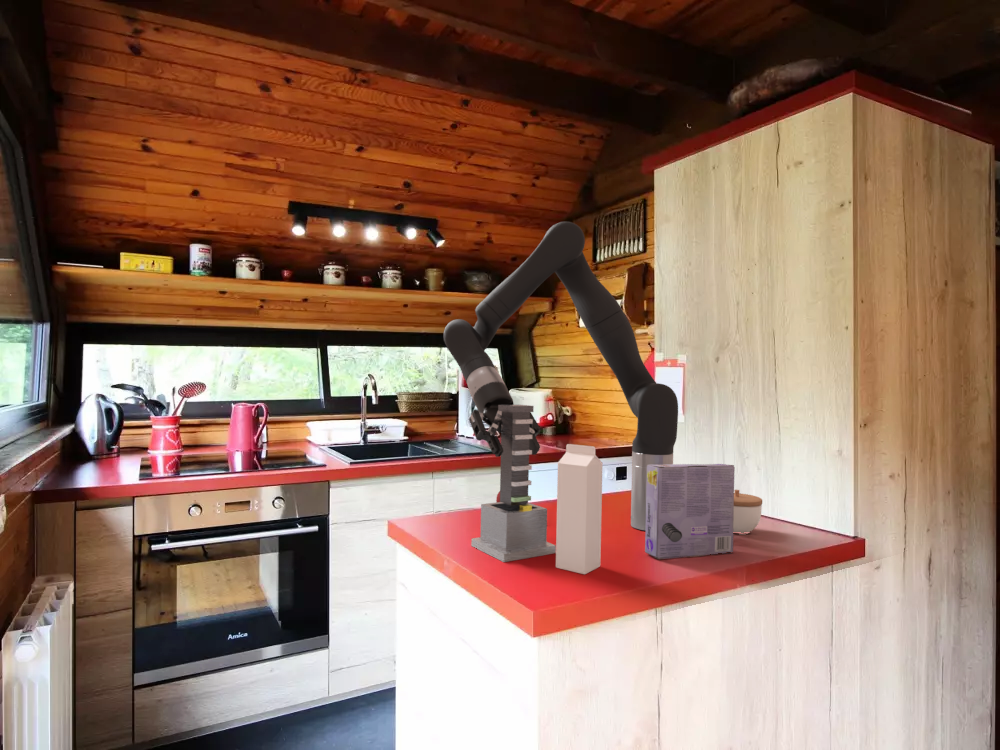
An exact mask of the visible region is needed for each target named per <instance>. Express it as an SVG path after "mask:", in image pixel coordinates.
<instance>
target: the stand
mask: <svg viewBox="0 0 1000 750" xmlns="http://www.w3.org/2000/svg"><path fill="white" fill-rule="evenodd" d="M547 529H548V508H546V507H543V506H540V505H537V504H533V503H531V502H528V504H520V505H508V504H505V503H502V502H490V503H481V504H480V537H479V536H478V537H474V538H471V544H470V546H471V547H472V548H474V547H475V548H474V549H476V548H477V550H478V551H481V552H483V553H484V554H486V555H488V556H491V557H493V558H494V559H496V560H498V561H501V563H506V562H507V563H508V562H512V561H518V560H524V559H525V560H526V559H529V558H536V557H541V556H546V555H548V556H549V555H552V554H553V555H554V554H556V544H553V543H551V542H548V541H547V537H548V536H547V535H548V534H547V532H548V530H547Z"/></svg>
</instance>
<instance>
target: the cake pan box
mask: <svg viewBox="0 0 1000 750" xmlns="http://www.w3.org/2000/svg"><path fill="white" fill-rule="evenodd" d="M735 471H736V470H735V465H733V464H726V463H725V464H724V463H709V464H708V463H700V464H699V463H696V464H695V463H694V464H693V463H682V464H681V463H676V464H674V463H673V464H668V465H647V487H646V530H645V533H644V534H645V535H644V537H645V540H644V541H645V542H644V545H645V546H644V552H645V553H646V554H648V555H649V556H651V557H652V558H655V559H656V560H664V559H665V560H667V559H678V558H692V557H703V556H704V557H705V556H711V555H719V554H718V553H722V554H727V553H726V552H733V553H734V534H733V531H734V529H733V521H734V493H735ZM710 554H711V555H710Z"/></svg>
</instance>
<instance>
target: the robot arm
mask: <svg viewBox="0 0 1000 750" xmlns="http://www.w3.org/2000/svg"><path fill="white" fill-rule="evenodd" d="M585 243H586V240H585V234H584V232H583V229H581V227H580V226H579V225H578V224H576V223H574V222H572V221H560V222H558V223H555V224H553V225H552V226H551V227H550V228H549V229H548V230H547V231H546V232H545V235H544V236H543V238H542V240H541V241H540V243H539V244H538V245H537V247H536V248H535V249H534V250H533V252H532V253H531V254H530V255H529V256H528V257H527V258H526V260H525V261H524V262H522V263H521V264H520V265H519V267H517V268H516V269H515V270H514V271H513V272H512V273H511V274H510V275H508V277H506V278H505V279H504V280H503V281H501V283H500V284H498V285H497V286H496V287H495V288H494V289H493V290H492V291H491V292H490V293H489V294H488V295H486V297H485V298H484V299H482V301H481V302H479V304H477V306H476V307H475V309H474V311H475V315H476V318H477V320H476V322H475V324H474V326H472V324H471V323H470V322H469V321H467V320H464V319H461V318H458V319H457V318H456V319H453V320H451V321H449V322H448V323H447V325H446V326H445V328H444V330H443V342H444V344H445V346H446V347H447V350H448V351H449V352H450V354H451V356H452V357H453V359H454V361H455V362H456V363H457V365H458V366H459V368H460V370H461V373H462V376H463V378H464V380H465V383H466V384H467V388H468V391H469V393H470V396H471V398H472V400H473V403H474V404H475V405H474V406H475V407H476V409H474V410H473V411H472V413H471V415H470V416H469V418H468V420H469V422H470V423H469V424H470V426H471V428H472V431H473V434H474V437H475V439H476V440H477V441H483V440H484V441H485V443H487V444H488V447H489V448H490V451H491V454H493V455H494V456H495V457H496V458H499V457H500V458H501V455H502V453H503V447H502V445H501V440H500V439H499V437H498V436H497V435H496V433H497V432H498V433H499V434H501V424H502V411H498V405H515V403H514V399H513V397H512V395H511V393H510V392H509V390H508V387H507V385H506V383H505V382H504V379H503V378H502V376H501V374H500V373H499V372H498V371H497V369H496V366H495V365H494V363H493V360H492V359H491V357H490V356H489V355H488V353H487V352H486V349H487V347H488V346H489V345H490V343H491V342H492V340H493V338H494V337H495V335H496V333H497V332H498V330H499V329H500V327H501V326H503V324H504V323H505V322H506V321H507V320H508V319H509V318H511V317H512V315H513V314H515V313H516V312H517V311H518V310H519V309H520V308H521V306H523V305H524V303H525V302H526V301H527V300H528V299H529V297H531V296H532V294H533V293H534V292H535V291H536V290H537V289H538V288H539V287H540V286H541V285H542V284H543V283H544V282H545V281H546V280H547V279H548V278H549V277H550V276H551V275H553V274H554V273H555V274H556V276H557V277H558V278H559V280H560V282H561V283H562V284H563V286H564V288H565V289H566V291H567V292H568V294H569V296H570V299H571V300H572V304H574V307H575V309H576V311H577V313H578V315H579V317H580V319H581V320H582V322H583V324H584V327H585V328H586V330H587V332H588V333H589V336H590V337H591V339H592V341H593V343H594V344H595V346H596V347H597V349H598V350H599V352H600V353H601V355H602V357H603V359H604V360H605V362H606V363H607V365H608V366H609V367H610V369H611V371H612V372H613V374H614V375H615V377H616V379H617V382H618V383H619V386H620V387H621V391H622V392H623V394H624V397H625V400H626V402H627V403H628V406H629V408H630V410H631V412H632V413H633V415H634V416H635V417H636V418H637V426H636V430H637V431H636V435H635V437H634V438H633V440H632V447H631V452H632V453H631V497H630V499H631V500H630V526H631V527H632V528H634V529H637V530H641V531H646V487H647V465H668V464H674V448H675V444H676V441H677V435H678V423H679V422H678V420H679V401H678V398H677V394H676V393H675V391H674V390H673V389H672V388H671V387H670V386H668V385H667V384H663V383H658V382H657V381H655V379H654V377H652V375H651V374H650V372H649V370H648V369H647V367H646V366H645V364H644V361H643V359H642V357H641V355H640V354H641V353H640V351H639V347H638V346H639V345H638V343H637V340H636V336H635V332H634V330H633V328H632V325H631V323H630V321H629V319H628V317H627V315H626V314H625V312H624V310H623V308H622V307H621V305H620V304H619V302H618V301H617V300H616V298H615V297H614V296H613V295H612V293H611V292H610V291H609V290H608V289H607V288H606V287H605V286H604V285H603V284H602V282H601V281H600V280H599V279H598V278H597V277H596V275H595V274H594V272H593V270H592V269H591V266H590V264H589V263H588V260H587V258H586V257H585V255H584V252H583V251H584V248H585ZM530 419H533V423H532V424H530V430H529V434H531V435H532V439H529V450H532V454H531V455H533V456H534V455H535V456H536V455H537V454H538V453H539V451H540V448H541V445H540V443H539V440H538V439H537V436H538V435H539V433H540V432H541V431H542V429H541V426H540V425H539V424H538V422H537V420H536V419H535V417H534V416H533V413H532V412H530ZM484 423H485V424H487V426H489V427H488V429H486V427H485V425H484Z"/></svg>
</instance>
